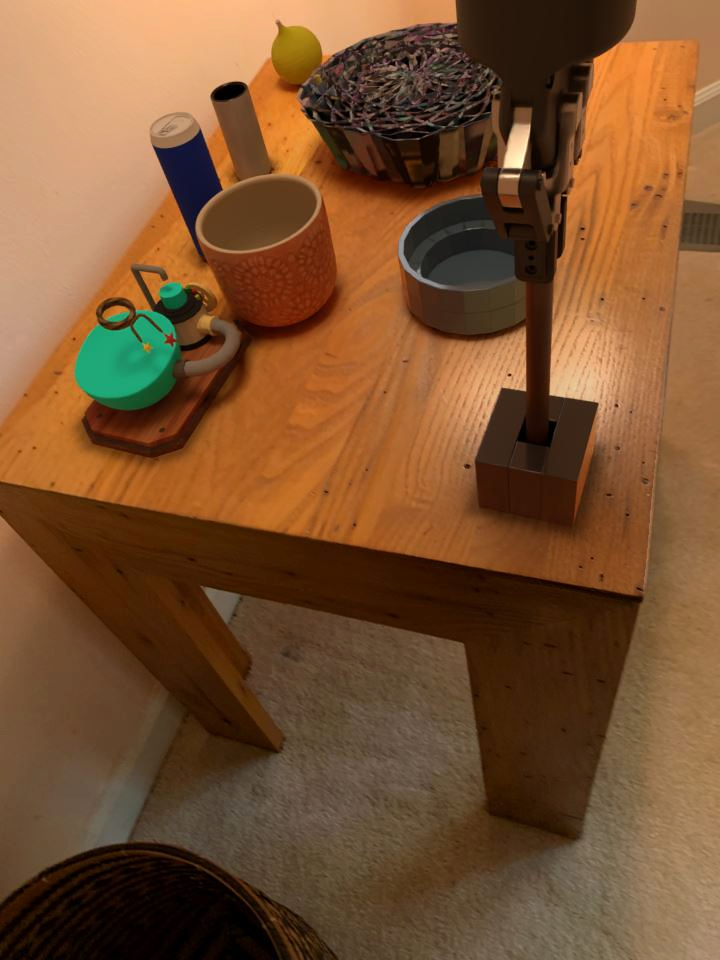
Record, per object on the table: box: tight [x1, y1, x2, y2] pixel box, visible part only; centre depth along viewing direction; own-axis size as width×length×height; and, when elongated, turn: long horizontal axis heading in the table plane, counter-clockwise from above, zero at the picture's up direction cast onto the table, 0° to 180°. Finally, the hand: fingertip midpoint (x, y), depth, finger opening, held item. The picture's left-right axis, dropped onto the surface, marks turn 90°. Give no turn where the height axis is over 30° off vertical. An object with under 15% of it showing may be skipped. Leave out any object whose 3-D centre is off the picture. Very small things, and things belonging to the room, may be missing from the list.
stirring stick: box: [525, 279, 555, 447], centre depth 49 cm, size 2×2×26 cm
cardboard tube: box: [209, 80, 272, 181], centre depth 90 cm, size 4×4×10 cm
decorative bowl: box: [296, 21, 502, 189], centre depth 88 cm, size 26×28×10 cm
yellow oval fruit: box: [270, 14, 323, 86], centre depth 102 cm, size 7×7×10 cm
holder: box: [474, 387, 600, 527], centre depth 57 cm, size 7×7×6 cm
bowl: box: [397, 193, 526, 336], centre depth 71 cm, size 14×14×6 cm
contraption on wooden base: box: [74, 263, 252, 458], centre depth 68 cm, size 14×18×15 cm
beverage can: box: [149, 111, 224, 260], centre depth 80 cm, size 5×5×15 cm
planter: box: [195, 173, 338, 328], centre depth 74 cm, size 12×12×11 cm
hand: (540, 265), depth 43 cm, fingers closed on stirring stick, 1 cm apart
